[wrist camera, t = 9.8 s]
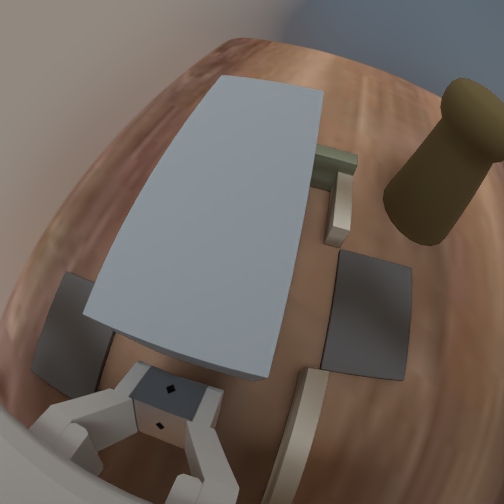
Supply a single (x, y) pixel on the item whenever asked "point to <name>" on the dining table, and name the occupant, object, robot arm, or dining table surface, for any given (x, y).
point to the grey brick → (216, 231)
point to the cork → (448, 164)
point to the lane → (309, 380)
